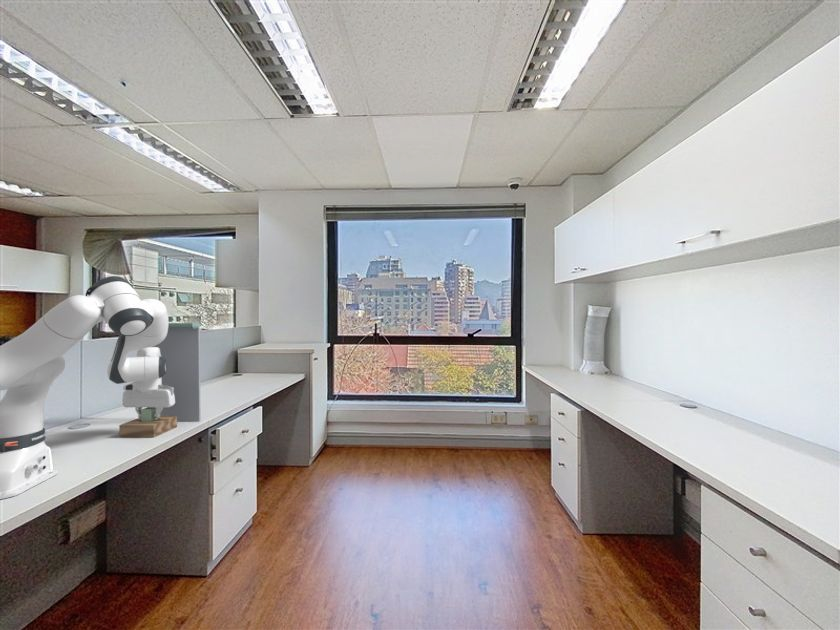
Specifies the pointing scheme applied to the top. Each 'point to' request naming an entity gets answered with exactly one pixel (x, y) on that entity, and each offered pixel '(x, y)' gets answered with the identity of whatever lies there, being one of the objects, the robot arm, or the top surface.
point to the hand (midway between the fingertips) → (149, 417)
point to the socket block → (147, 427)
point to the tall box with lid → (182, 370)
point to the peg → (148, 414)
